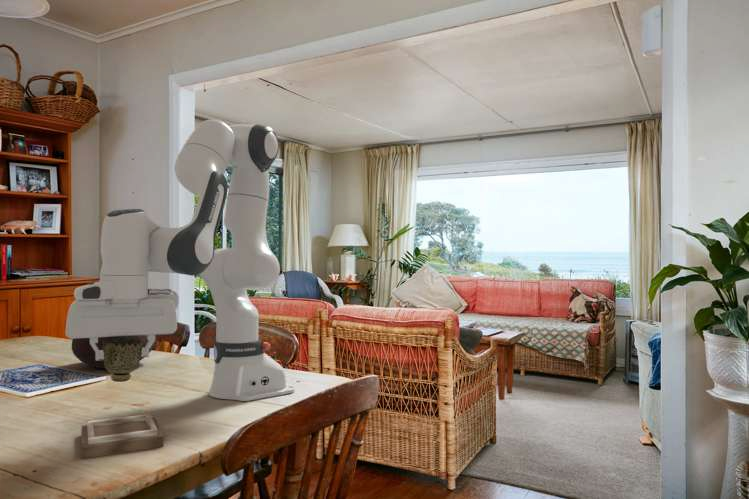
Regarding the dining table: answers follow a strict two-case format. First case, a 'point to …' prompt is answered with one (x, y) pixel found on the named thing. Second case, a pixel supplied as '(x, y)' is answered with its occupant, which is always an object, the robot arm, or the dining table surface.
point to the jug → (100, 348)
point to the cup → (122, 357)
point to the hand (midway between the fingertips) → (122, 358)
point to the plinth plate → (120, 435)
